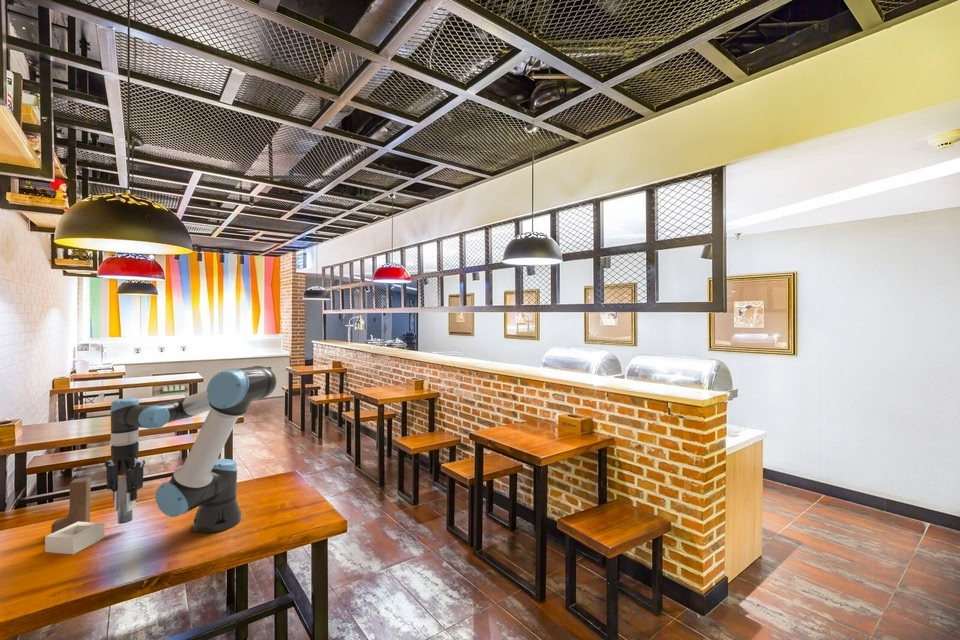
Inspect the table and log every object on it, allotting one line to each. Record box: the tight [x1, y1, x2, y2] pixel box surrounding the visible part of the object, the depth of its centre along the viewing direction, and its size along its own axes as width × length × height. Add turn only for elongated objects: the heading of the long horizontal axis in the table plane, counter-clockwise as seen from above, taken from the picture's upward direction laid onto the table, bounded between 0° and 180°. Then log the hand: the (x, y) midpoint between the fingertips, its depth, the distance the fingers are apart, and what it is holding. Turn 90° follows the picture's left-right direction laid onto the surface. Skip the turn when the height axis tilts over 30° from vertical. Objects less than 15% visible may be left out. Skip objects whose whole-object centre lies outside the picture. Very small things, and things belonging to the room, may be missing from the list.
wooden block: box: [50, 476, 92, 534], centre depth 147 cm, size 9×4×18 cm, turn 118°
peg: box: [117, 473, 133, 525], centre depth 148 cm, size 4×4×17 cm
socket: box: [44, 521, 105, 555], centre depth 139 cm, size 10×10×5 cm
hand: (125, 509), depth 148 cm, fingers closed on peg, 4 cm apart
